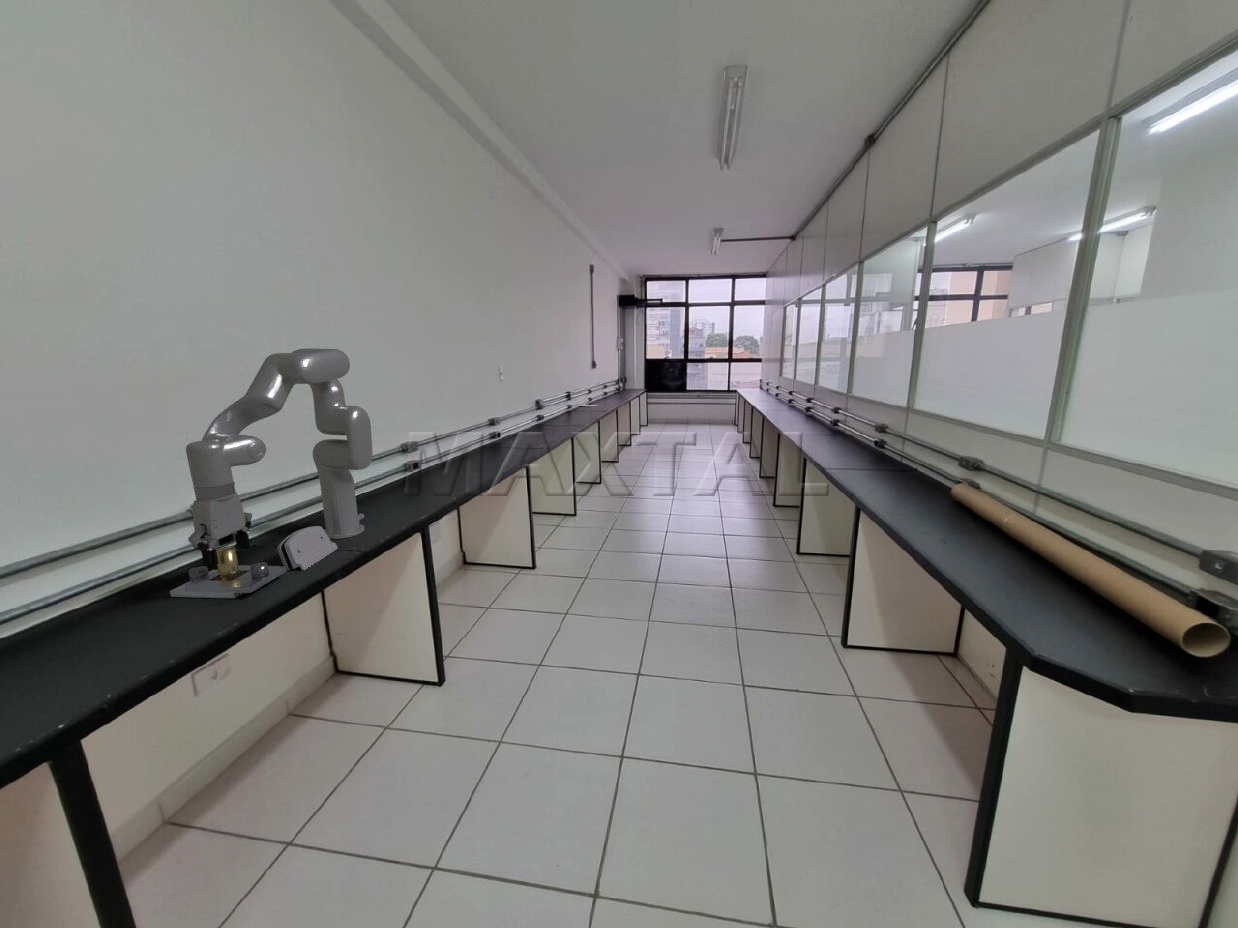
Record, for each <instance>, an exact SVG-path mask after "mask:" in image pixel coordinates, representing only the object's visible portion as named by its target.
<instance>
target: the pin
mask: <svg viewBox="0 0 1238 928" xmlns="http://www.w3.org/2000/svg"><path fill="white" fill-rule="evenodd" d="M216 552H217V557H218V562H219V563H218V564H217V565H216V567H217V570H218V572H219V578H220V581H232V580H234V579H236V578H238V577H240V572H239V566H238V565H239V560H238V555H237V550H236V546H232V545H231V546H224V547H223V546H222V547H219V548H217V549H216Z"/></svg>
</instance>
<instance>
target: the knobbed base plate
mask: <svg viewBox="0 0 1238 928" xmlns="http://www.w3.org/2000/svg"><path fill="white" fill-rule="evenodd" d="M238 566H239V572H240V577H238V578H236V579H234V580H232V581H220V578H219V572H218V569H212V570H210V571H209V568H208V566H207V565H203V566H202V565H201V566H197V567H192V568H190V569H189V570H188V576H189V581H187V582H186V583H183V584H181V585H180V586H177V587H176V588H173V589H171V590H169V593H170V594H169V595H170V597H171V598H196V599H197V598H199V599H200V598H201V599H205V598H206V599H237V598H238V597H240V596H242V595H244V594H251V593H253V592H255V591H257V590H258V589H260V588H261V587H263V586H264V585H266V584H268V583H270V582H271V581H273V580H274V579H276V578H278V577H280V576H281V575H283V574H285V573H287V571H286V568H285V566H281V565H269V564H268V562H267V561H266V562H264V561H261V562H260V561H259V562H255V563H253V564H251V565H246V564H245V565H241V564H238Z"/></svg>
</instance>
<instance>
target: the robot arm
mask: <svg viewBox="0 0 1238 928" xmlns="http://www.w3.org/2000/svg"><path fill="white" fill-rule="evenodd" d="M350 367H351V362H350V358H349V357H348V355H347V354H346V352H345V351H343V350H340V349H338V348H308V347H307V348H298V349H295V350H293V351H292V352H278V353H273V354H272V353H271V354H269V355H268V356H267V357H266V358H265V359H264V361H263V362H262V364H261V365H260V368H259V370H258V372H257V373H256V375H255V377H254V379H253V380H252V382H251V384H250V386H249V387H248V389H247V391H246V393H245V394H244V395H243V396H242V397H241V398H239V399H237V400H236V401H235V402H233V403H232V404H231V405H228V407H226V408H224V409H223V411H221V412H220V413H219V414H218V415H217V416H215V418H213V420H212V422H211V423H210V424H209V426H208V427H207V429H206V431H205V432H204V434H203V437H202V439H201V440H198V441H193V442H190V443H188V444H186V447H185V454H186V458H187V463H188V467H189V472H190V477H191V483H192V486H193V491H194V496H195V500H193V503H192V523H193V529H194V531H193V532H192V533H191V534H190V535H189V537H188V538H187V540H188V542H189V543H190V544H191V545H192V547H193V548H195V549H197V550H198V551H199V552H201V556H202V561H203V564H204V565H203V566H217V564H218V563H219V562H218V557H217V552H216V550H217V549H216V548H215V545H216V542H217V541H218V540H221V539H223V538H225V537H227V536H230V535H232V534H234V533H235V534H234V539H235V546H236V548H237V549H239V550H241V549H242V550H249V549H251V543H250V538H249V534H250V531H251V530H250V528H251V525H252V517H253V513H252V512H251V513H250V512H245V511H244V507H243V505H242V501H241V499H240V496H239V495H238V492H237V491H236V487H235V484H236V482H235V481H234V477H233V472H232V468H233V467H239V466H249V465H254V464H256V463H258V462H261V460H262V459H263V458H264V457H265V456H266V454H267V446H266V444H265V442H264V441H263V440H262V439H261V438H259V437H257V436H254V435H246V434H240V433H242V432H243V430H245V429H246V428H247V427H248V426H250V425H252V424H254V423H255V422H259V421H261V420H264V419H267V418H269V417H271V416H274V415H276V414H278V413H279V412H281V410H283V407H284V406H285V403H286V401H287V399H288V398H289V395H290V394H291V392H292V389H293V388H294V386H296V385H308V386H309V388H310V389H311V392H312V398H313V408H314V420H315V426H316V429H317V430H318V432H319V433H321V434H324V435H329V436H346V439H343V438H341V439H340V438H328V439H323V440H320V441H318V442H317V443H316V444H315V445H314V447H313V449H312V460H313V462H314V464H315V467H316V470H317V474H318V478H319V485H320V491H321V492H320V493H321V501H322V507H323V508H322V509H323V510H322V511H323V514H324V515H323V517H324V524H325V528H323V530H324V531H325V533H326V534H327V536H328V538H329V539H330V540H341V539H346V538H347V539H348V538H352V537H355V536H358V535H361V534H362V533H363V532H364V531H365V525H364V524H361V523H360V522H361V521H360V520H362V519H364V518H365V514H364V513H361V512H360V513H359V514H358V507H357V498H356V488H355V479H354V477H353V474H352V472H351V471H352V470H354V471H356V470H357V471H359V470H360V471H361V470H365V469H367V468H368V467H369V466H370V465H371V463H372V460H373V442H372V441H373V439H372V426H371V425H372V424H371V419H370V417H369V414H368V413H367V411H366V410H365V409H364V408H362V407H360V406H358V405H346V400H345V399H346V398H345V391H344V387H343V385H342V383H341V381H340V380H339V379H340V378H343V377H344V376H346V375H347V374H348V373H349V371H350V369H351V368H350ZM207 542H208V543H207Z"/></svg>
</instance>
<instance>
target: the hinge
mask: <svg viewBox="0 0 1238 928" xmlns="http://www.w3.org/2000/svg"><path fill="white" fill-rule="evenodd" d="M338 549H339V547H338V545H337V543H336V542H333V541H331V539H329V538H328V536H327V534H326V533H325V531H324V528H323V527H322V526H320V525H315V526H313V525H312V526H308V527H305V528H301V529H298V530H296V531H294V532H292V533H291V534H289V535H288V536H286V537H285V538H284V539H283V540H282V541H280V543H279V544H278V545H277V548H276V551H277V553H278V555H279V557H280V560H281V562H282V565H283V566H285V568H286V572H287V571H290V570H291V569H292V570H294V569H296V568H300V570H301V571H302V570H304V571H305V570H308V569H309V568H310V567H312V566H313V565H315V564H316V563H318V562H319V561H321V560H323V559H324V558H325V557H327V556H329V555H330V554H332V553H333V552H335V551H336V550H338ZM314 563H315V564H314ZM311 565H312V566H311ZM308 567H309V568H308Z"/></svg>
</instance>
